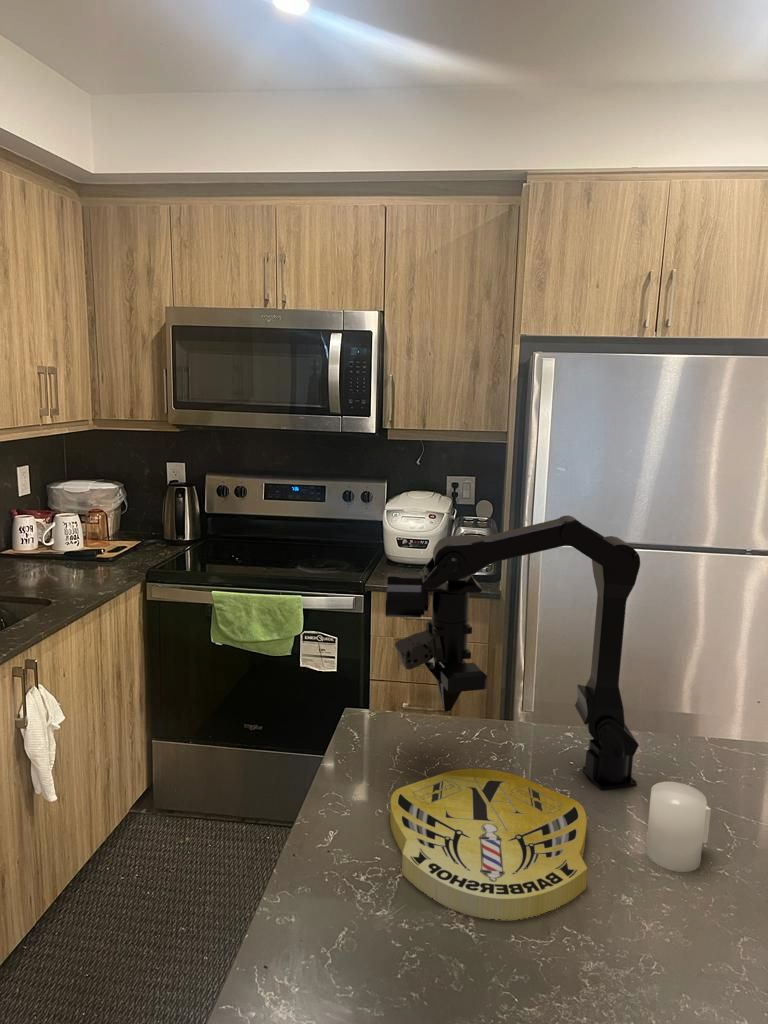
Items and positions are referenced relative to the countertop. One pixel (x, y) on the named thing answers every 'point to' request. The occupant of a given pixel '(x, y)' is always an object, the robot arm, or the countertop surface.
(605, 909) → the countertop surface
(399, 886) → the countertop surface
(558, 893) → the sign
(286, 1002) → the countertop surface
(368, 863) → the countertop surface
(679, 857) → the night light
